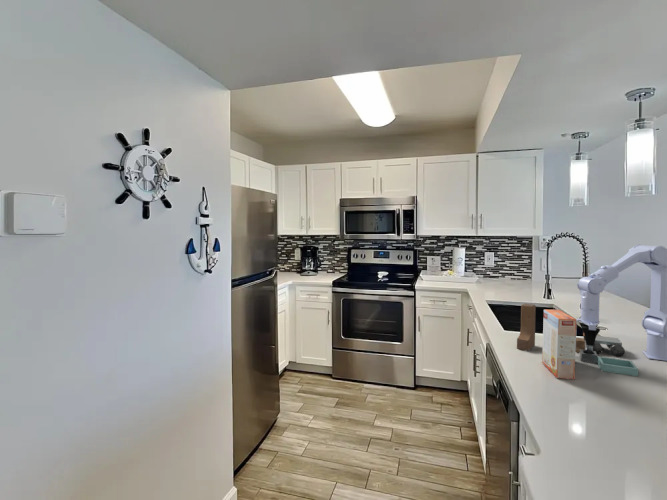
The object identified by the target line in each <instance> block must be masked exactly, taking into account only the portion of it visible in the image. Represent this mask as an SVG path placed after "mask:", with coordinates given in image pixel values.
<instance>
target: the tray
mask: <svg viewBox="0 0 667 500" xmlns="http://www.w3.org/2000/svg"><path fill="white" fill-rule="evenodd" d="M597 365H598V367H599V369H600V371H601V372H606V373H612V374H620V375H627V376H628V375H629V376H634V377H638V376H639V368H638V367H637V366H636V365H635V363H634V362H633V361H632V360H628V359H627V360H626V359H621V358H620V359H619V358H612V357H605V356H598V363H597Z"/></svg>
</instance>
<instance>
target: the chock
mask: <svg viewBox="0 0 667 500" xmlns="http://www.w3.org/2000/svg"><path fill="white" fill-rule="evenodd" d="M580 349H582V350H585V340H584V337H576V352H575V353H577V354H580Z"/></svg>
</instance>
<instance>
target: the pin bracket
mask: <svg viewBox="0 0 667 500" xmlns="http://www.w3.org/2000/svg"><path fill="white" fill-rule="evenodd" d="M578 356H579V359H580V361H581V362H584V363H585V362H586V363H592V364H593V363H594V364H598V357H599V355H598V354H597V353H596V351H593V353H592V354H589V353H586V352H585V350H582V349H580V353H579V355H578Z"/></svg>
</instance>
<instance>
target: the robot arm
mask: <svg viewBox="0 0 667 500" xmlns="http://www.w3.org/2000/svg"><path fill="white" fill-rule="evenodd" d="M637 263H642V264H644V265H645V266H647V267H648V268H649V269H650V270H651V271H650V272H651V273H650V274H651V275H650V277H651V278H650V301H649V302H650V305H649V306H650V307H649V309H648V310H646V311H645V310H644V311H645V312H644V313H643V314H644V315H643V318H642V319H641V326H642V328H643V329H644V332H645V333H646V347H645V349H646V350H642V354H644V356H645V357H646V358H647V359H649V360H659V361H665V362H667V248H666V247H665V246H662V245H643V244H636V245H634V246H633V247H631V248H629V249H628V252H627V253H626V254H624V255H623V256H622V257H620V258H619V259H618V260H616V261H615V262H614V263H613V264H611V265H602V266H600V267H599V269H597V270H596V271H595V272H593V273H590V274H589V276H583V277H581V278H580V279H579V281H578V283H577V285H576V287H577V289H578V290H579V294H580V318H576V320H577V322H579V325H580V328H581V330H582V336H583V338H584V340H585V341H586V345H589V346H593V345H594V342H595V339H596V336H598V334H599V333H600V332H601V328H599V327H598V326H599V324H600V297H601V296H600V293H602V292H603V291H605V287H606V286H607V285H608V284H610V283H611V282H613V281H614V280H616V279H618V278H619V273H621V272H623V271H624V270H626V269H628V268H630V267H632V266H633V265H635V264H637ZM583 333H584V335H585V336H584V335H583Z"/></svg>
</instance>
